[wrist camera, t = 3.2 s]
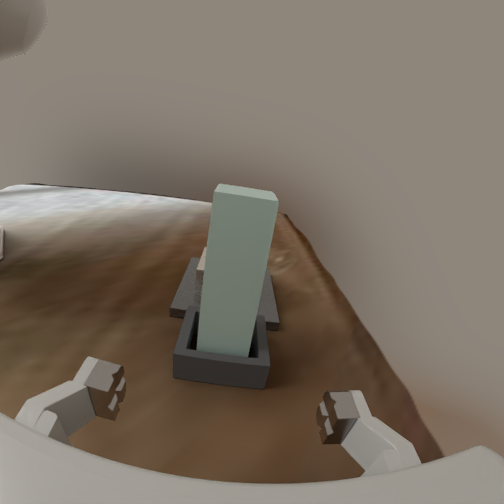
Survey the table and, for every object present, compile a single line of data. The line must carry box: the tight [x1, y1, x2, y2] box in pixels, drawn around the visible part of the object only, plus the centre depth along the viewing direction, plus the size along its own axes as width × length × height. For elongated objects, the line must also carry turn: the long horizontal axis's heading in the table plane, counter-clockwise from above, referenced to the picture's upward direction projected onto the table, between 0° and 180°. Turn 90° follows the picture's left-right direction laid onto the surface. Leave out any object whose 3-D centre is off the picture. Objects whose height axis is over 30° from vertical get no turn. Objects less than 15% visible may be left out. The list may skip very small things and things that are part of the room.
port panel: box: [170, 247, 280, 331], centre depth 35 cm, size 14×11×4 cm
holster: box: [173, 305, 270, 389], centre depth 24 cm, size 7×7×2 cm
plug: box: [196, 184, 279, 357], centre depth 22 cm, size 4×4×14 cm
